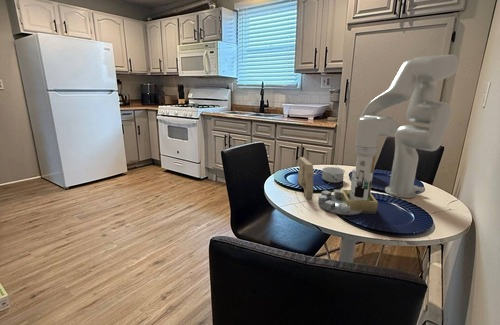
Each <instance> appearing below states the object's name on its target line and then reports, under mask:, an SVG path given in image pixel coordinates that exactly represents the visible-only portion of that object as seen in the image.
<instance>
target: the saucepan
mask: <svg viewBox="0 0 500 325" xmlns="http://www.w3.org/2000/svg"><path fill="white" fill-rule="evenodd" d="M321 170H322V174H321V178H322V180H324V181H326V182H328V183H332V184H333V183H335V184H337V183H340V182H341V183H342V182H343V181H344V177H345V173H346V170H345V169H342V168H340V167H337V166H336V167H333V166H324V167H322V169H321Z"/></svg>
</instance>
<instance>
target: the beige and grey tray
mask: <svg viewBox="0 0 500 325" xmlns="http://www.w3.org/2000/svg"><path fill="white" fill-rule="evenodd" d="M350 190H351V189H343V188H342V189H333V192H331V191H329V190H322V191H321V194H319V195H318V201H317V202H318V206H319V207H320V209H322V210H324V211H326V212H328V213H331V214H333V215H336V216H337V215H338V216H344V217H346V216H347V217H348V216H349V217H353V216H358V215H361V214H369V215H377V212H378V205H379V201H378V200H377V199H376V198H375V197H374V195H373V194H372V192H370V200H369V201H366V200H350ZM332 193H333V194H332Z"/></svg>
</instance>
